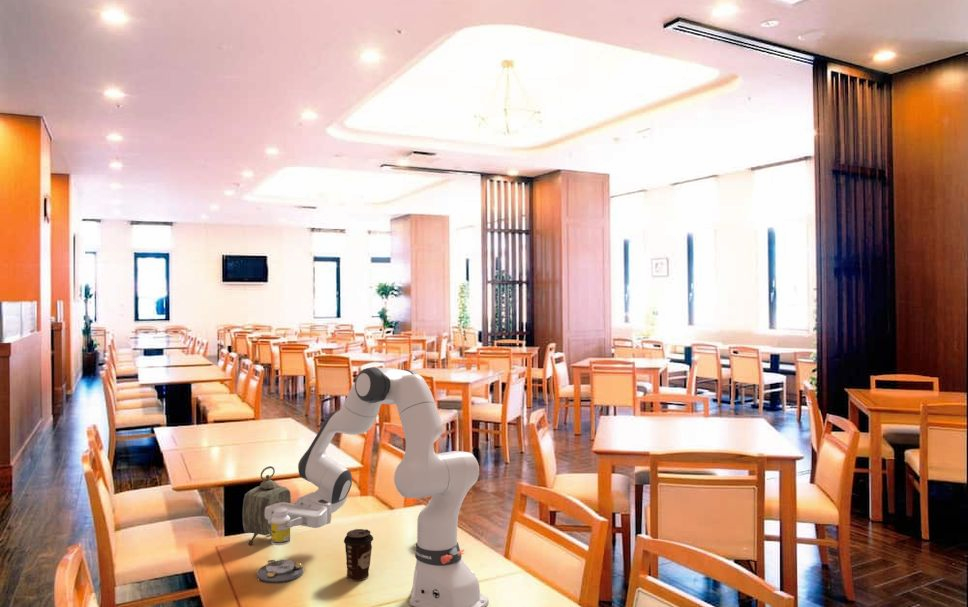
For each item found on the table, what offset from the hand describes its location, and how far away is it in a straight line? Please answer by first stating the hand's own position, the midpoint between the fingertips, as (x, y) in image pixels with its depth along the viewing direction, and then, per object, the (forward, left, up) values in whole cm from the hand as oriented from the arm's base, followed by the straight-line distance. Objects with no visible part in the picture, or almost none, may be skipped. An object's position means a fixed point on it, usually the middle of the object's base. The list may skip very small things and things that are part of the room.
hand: (278, 522), depth 195 cm
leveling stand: (0, -1, -15) cm, 16 cm away
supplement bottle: (0, -1, -6) cm, 6 cm away
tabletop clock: (+27, -12, -16) cm, 34 cm away
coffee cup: (-18, -16, -16) cm, 29 cm away
